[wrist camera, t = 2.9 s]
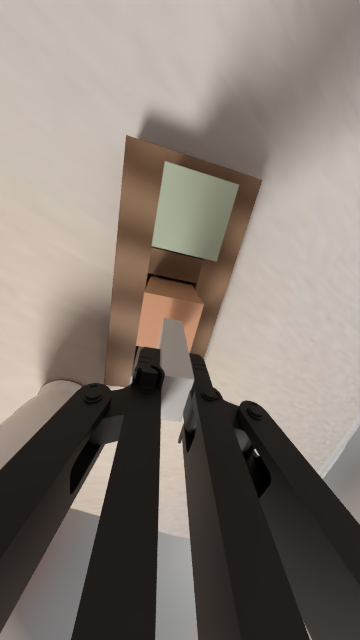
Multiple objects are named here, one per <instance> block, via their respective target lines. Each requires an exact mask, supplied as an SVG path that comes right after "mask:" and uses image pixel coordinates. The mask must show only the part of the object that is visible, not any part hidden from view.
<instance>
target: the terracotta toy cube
mask: <svg viewBox="0 0 360 640" xmlns="http://www.w3.org/2000/svg"><path fill="white" fill-rule="evenodd" d="M203 306H204V303H203V302H202V300H201V298H200V297H199V295H198V294H197V292H196V290H195V289H194V287H193V285H191V284H186V283H182V282H177V281H173V280H168V279H163V278H159V277H154V276H151V277H150V280H149V282H148V284H147V287H146V289H145V292H144V297H143V303H142V310H141V316H140V322H139V328H138V335H137V341H136V346H141V347H150V348H157V346H158V341H159V336H160V331H161V327H162V322H163V318H168V319H173V320H178V321H182V322H183V327H184V332H185V337H186V341H187V346H188V351H189V353H190V351H191V347H192V344H193V340H194V337H195V334H196V330H197V327H198V323H199V320H200V317H201V313H202V310H203Z"/></svg>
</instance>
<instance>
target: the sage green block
mask: <svg viewBox="0 0 360 640" xmlns="http://www.w3.org/2000/svg"><path fill="white" fill-rule="evenodd" d="M238 187H239V184H235V183H232V182H229V181H226V180H223V179H220V178H217V177H213V176H210V175H207V174H204V173H201V172H198V171H195V170H191V169H188V168H185V167H182V166H179V165H176V164H173V163H170V162H166V161H165V164H164V170H163V177H162V183H161V189H160V196H159V202H158V208H157V215H156V221H155V227H154V234H153V240H152V246H154V247H158V248H162V249H166V250H170V251H174V252H179V253H183V254H187V255H191V256H195V257H199V258H203V259H207V260H212V261H216V262H217V259H218V255H219V252H220V249H221V245H222V242H223V238H224V235H225V232H226V228H227V225H228V221H229V218H230V215H231V211H232V208H233V204H234V201H235V198H236V194H237V191H238Z"/></svg>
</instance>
